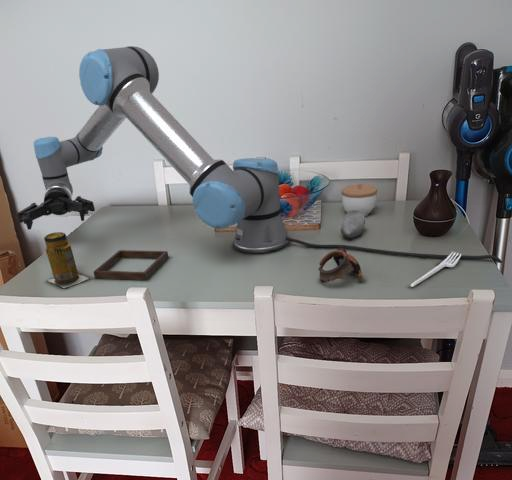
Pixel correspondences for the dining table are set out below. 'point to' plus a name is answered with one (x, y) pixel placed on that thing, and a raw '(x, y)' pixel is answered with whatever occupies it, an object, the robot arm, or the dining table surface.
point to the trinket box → (359, 198)
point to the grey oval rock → (353, 223)
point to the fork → (439, 267)
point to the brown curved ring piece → (339, 265)
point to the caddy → (124, 275)
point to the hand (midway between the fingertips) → (55, 220)
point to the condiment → (62, 260)
